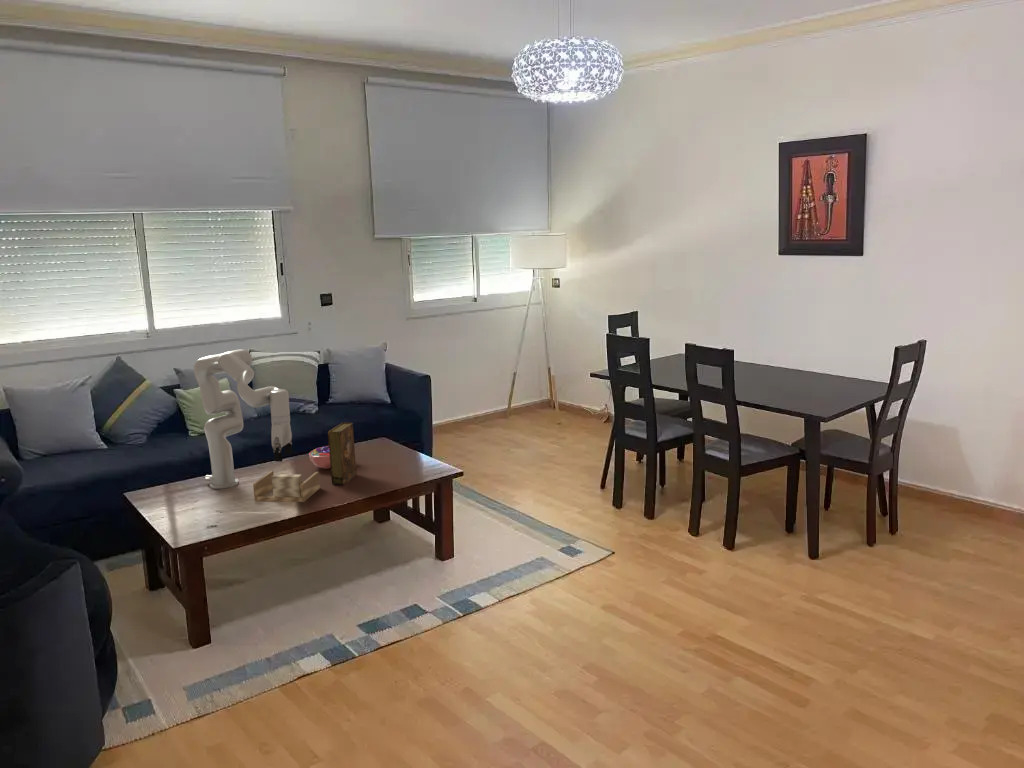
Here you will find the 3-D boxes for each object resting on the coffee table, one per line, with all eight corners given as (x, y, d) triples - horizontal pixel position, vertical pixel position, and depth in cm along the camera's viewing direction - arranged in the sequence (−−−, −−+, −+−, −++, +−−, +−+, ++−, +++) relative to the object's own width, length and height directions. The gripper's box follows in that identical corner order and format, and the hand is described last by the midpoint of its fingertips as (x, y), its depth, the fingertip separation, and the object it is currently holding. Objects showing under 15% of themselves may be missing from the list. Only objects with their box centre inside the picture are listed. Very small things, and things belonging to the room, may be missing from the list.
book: (346, 473, 364) (342, 422, 359) (357, 474, 363) (353, 422, 358) (332, 485, 348) (327, 431, 343) (343, 485, 347) (339, 432, 342)
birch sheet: (273, 500, 331) (271, 476, 329) (276, 498, 334) (274, 474, 332) (300, 501, 329) (298, 476, 327) (303, 498, 332) (301, 474, 330)
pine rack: (254, 501, 331) (252, 483, 329) (272, 487, 347) (270, 470, 346) (304, 502, 328) (302, 484, 326) (319, 488, 344) (318, 471, 342)
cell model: (303, 468, 375) (301, 445, 372) (339, 458, 388) (338, 437, 385) (320, 475, 362) (318, 452, 360) (357, 465, 375) (355, 443, 373)
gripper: (281, 413, 333) (283, 450, 337) (263, 424, 316) (266, 463, 320) (297, 413, 332) (300, 451, 336) (280, 424, 315) (283, 464, 319)
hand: (283, 457), depth 328 cm, fingers open, 9 cm apart
